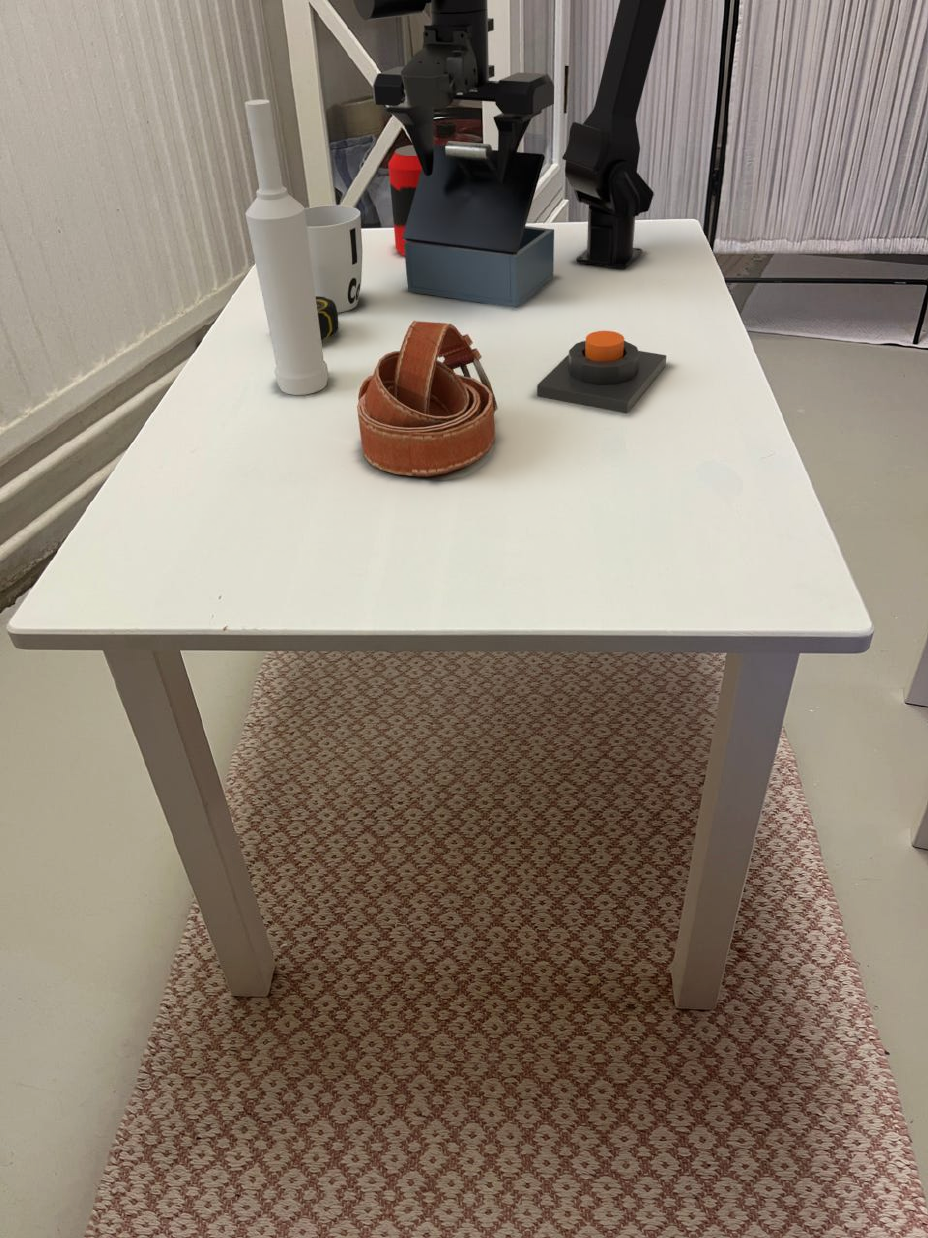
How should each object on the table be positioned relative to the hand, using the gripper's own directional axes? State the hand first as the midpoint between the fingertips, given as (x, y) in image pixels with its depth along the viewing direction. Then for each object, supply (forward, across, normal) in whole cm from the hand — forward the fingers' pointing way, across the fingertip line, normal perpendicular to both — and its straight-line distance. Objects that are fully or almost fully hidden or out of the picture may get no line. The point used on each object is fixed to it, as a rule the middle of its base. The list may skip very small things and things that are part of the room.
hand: (464, 178), depth 102 cm
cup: (+13, -13, -9) cm, 20 cm away
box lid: (+3, 0, +2) cm, 3 cm away
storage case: (+12, 0, +3) cm, 13 cm away
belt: (+13, +13, -33) cm, 38 cm away
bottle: (+13, -4, -28) cm, 31 cm away
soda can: (+13, -13, +12) cm, 22 cm away
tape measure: (+13, -11, -18) cm, 25 cm away
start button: (+10, +23, -16) cm, 30 cm away
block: (+12, +23, -16) cm, 31 cm away
